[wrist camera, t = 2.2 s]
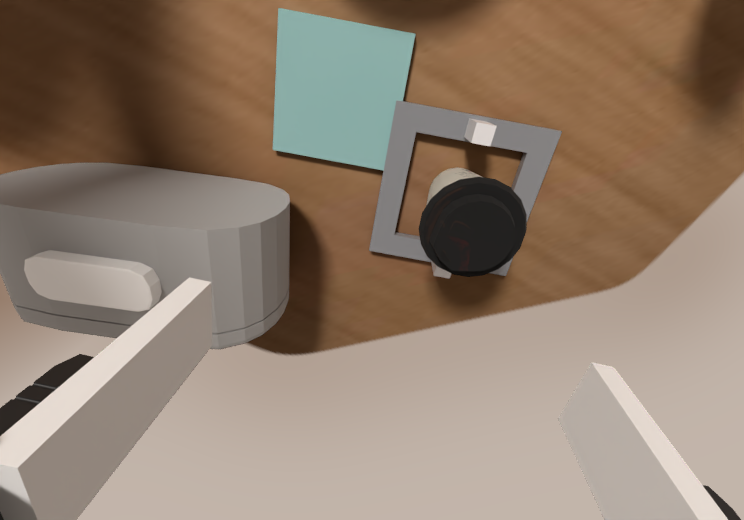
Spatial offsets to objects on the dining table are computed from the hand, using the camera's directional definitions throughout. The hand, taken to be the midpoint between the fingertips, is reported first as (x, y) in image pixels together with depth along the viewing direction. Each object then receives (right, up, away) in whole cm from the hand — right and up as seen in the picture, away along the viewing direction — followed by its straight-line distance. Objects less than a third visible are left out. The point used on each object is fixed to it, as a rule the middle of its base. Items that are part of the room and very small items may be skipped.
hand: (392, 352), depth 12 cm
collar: (+6, +9, +19) cm, 22 cm away
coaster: (-3, +16, +16) cm, 23 cm away
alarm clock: (-17, +7, +22) cm, 29 cm away
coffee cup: (+7, +9, +19) cm, 22 cm away
